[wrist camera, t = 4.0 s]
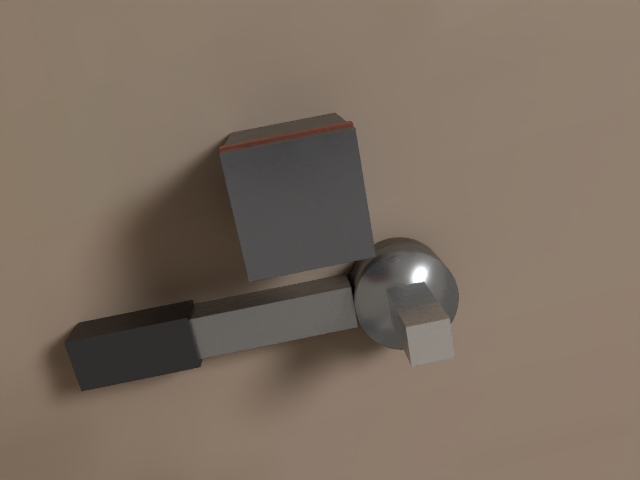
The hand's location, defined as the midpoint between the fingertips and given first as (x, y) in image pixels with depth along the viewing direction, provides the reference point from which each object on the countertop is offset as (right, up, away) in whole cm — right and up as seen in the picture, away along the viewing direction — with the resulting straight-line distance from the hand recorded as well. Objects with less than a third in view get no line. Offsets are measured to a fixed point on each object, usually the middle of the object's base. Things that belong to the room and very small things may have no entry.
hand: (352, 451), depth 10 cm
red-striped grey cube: (-2, +7, +24) cm, 25 cm away
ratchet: (-4, -1, +26) cm, 26 cm away
